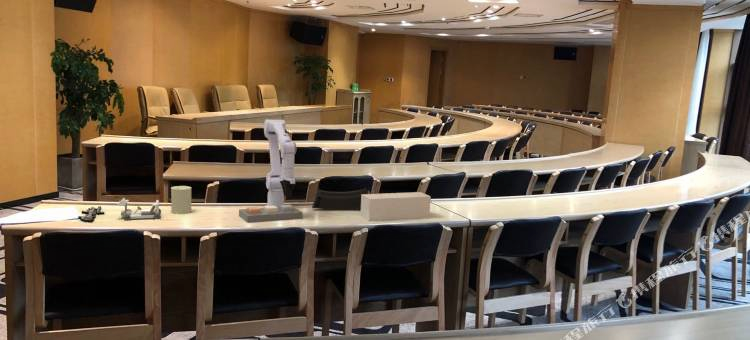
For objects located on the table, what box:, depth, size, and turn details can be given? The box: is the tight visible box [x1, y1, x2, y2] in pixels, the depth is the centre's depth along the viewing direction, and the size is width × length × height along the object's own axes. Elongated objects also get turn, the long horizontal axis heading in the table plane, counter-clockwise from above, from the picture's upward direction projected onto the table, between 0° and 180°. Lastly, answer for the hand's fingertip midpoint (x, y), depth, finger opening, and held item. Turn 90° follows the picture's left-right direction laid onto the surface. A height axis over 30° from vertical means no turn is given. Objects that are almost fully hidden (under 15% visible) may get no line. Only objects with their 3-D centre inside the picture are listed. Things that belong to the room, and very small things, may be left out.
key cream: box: [263, 205, 278, 213], centre depth 281 cm, size 5×5×3 cm
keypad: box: [238, 206, 303, 223], centre depth 281 cm, size 14×26×3 cm, turn 118°
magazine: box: [311, 188, 371, 212], centre depth 302 cm, size 17×3×30 cm
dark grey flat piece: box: [77, 205, 105, 224], centre depth 270 cm, size 27×2×10 cm
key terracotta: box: [246, 206, 261, 214], centre depth 277 cm, size 5×5×3 cm
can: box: [170, 185, 192, 215], centre depth 284 cm, size 9×9×12 cm
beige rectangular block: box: [360, 191, 432, 222], centre depth 293 cm, size 32×11×11 cm, turn 113°
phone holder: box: [117, 197, 162, 222], centre depth 270 cm, size 18×10×12 cm
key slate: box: [280, 204, 295, 211], centre depth 285 cm, size 5×5×3 cm
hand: (287, 196), depth 284 cm, fingers open, 2 cm apart
